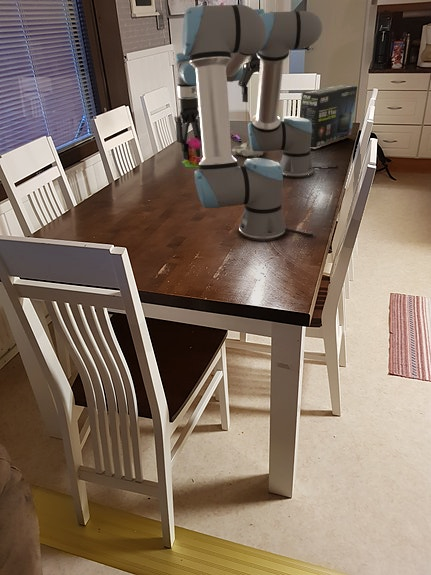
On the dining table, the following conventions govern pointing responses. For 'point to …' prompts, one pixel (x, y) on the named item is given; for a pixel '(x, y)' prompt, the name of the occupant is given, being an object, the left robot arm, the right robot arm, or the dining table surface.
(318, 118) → the router box
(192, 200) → the dining table surface
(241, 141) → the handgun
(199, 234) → the dining table surface
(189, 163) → the toy figurine
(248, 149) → the fossil
